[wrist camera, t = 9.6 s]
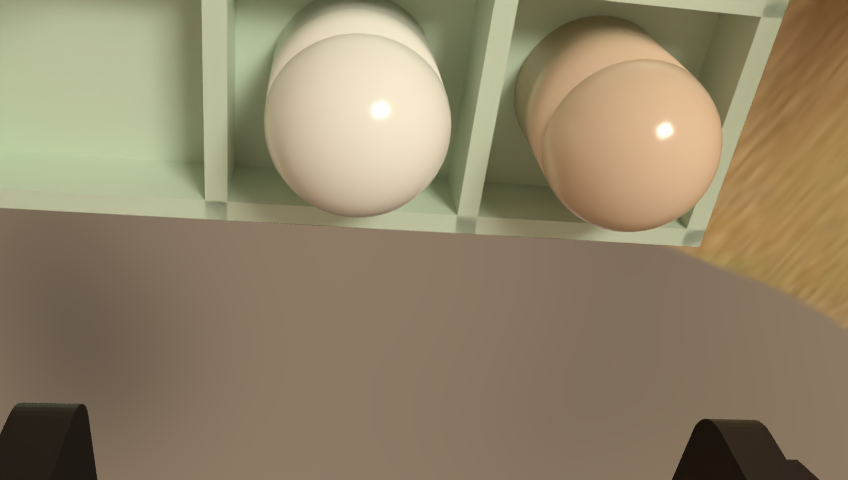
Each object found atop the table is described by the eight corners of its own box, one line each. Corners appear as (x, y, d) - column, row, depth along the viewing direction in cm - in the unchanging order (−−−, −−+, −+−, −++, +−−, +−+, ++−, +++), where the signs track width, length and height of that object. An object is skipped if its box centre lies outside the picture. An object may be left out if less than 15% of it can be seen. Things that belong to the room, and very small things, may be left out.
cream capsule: (274, -17, 21) (258, 58, 16) (444, 0, 22) (479, 77, 17) (270, 140, 24) (255, 248, 19) (423, 151, 24) (448, 257, 19)
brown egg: (529, 8, 22) (589, 86, 17) (684, 22, 23) (783, 101, 18) (501, 156, 25) (546, 262, 20) (642, 165, 25) (719, 270, 20)
